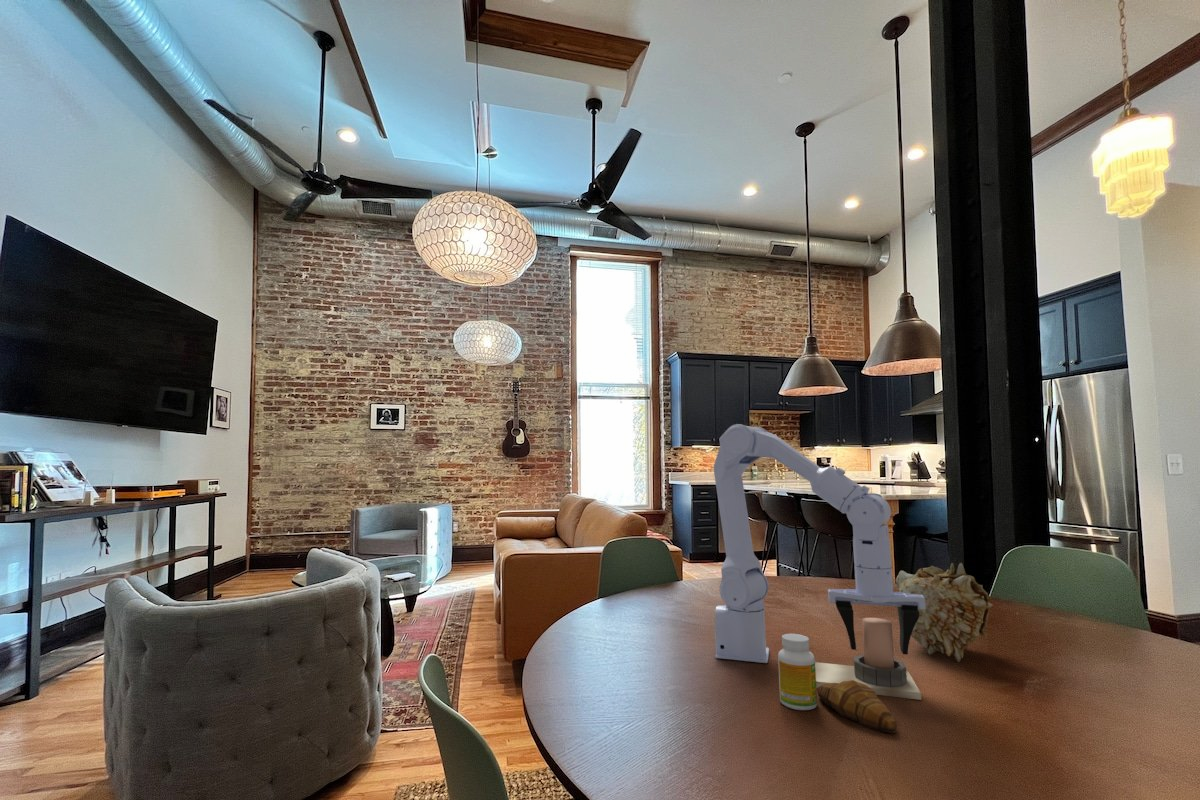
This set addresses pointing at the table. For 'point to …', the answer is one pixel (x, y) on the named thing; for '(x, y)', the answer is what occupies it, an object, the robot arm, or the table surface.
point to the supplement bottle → (797, 673)
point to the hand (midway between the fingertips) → (878, 650)
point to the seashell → (947, 608)
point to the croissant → (857, 704)
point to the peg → (878, 643)
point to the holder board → (849, 675)
